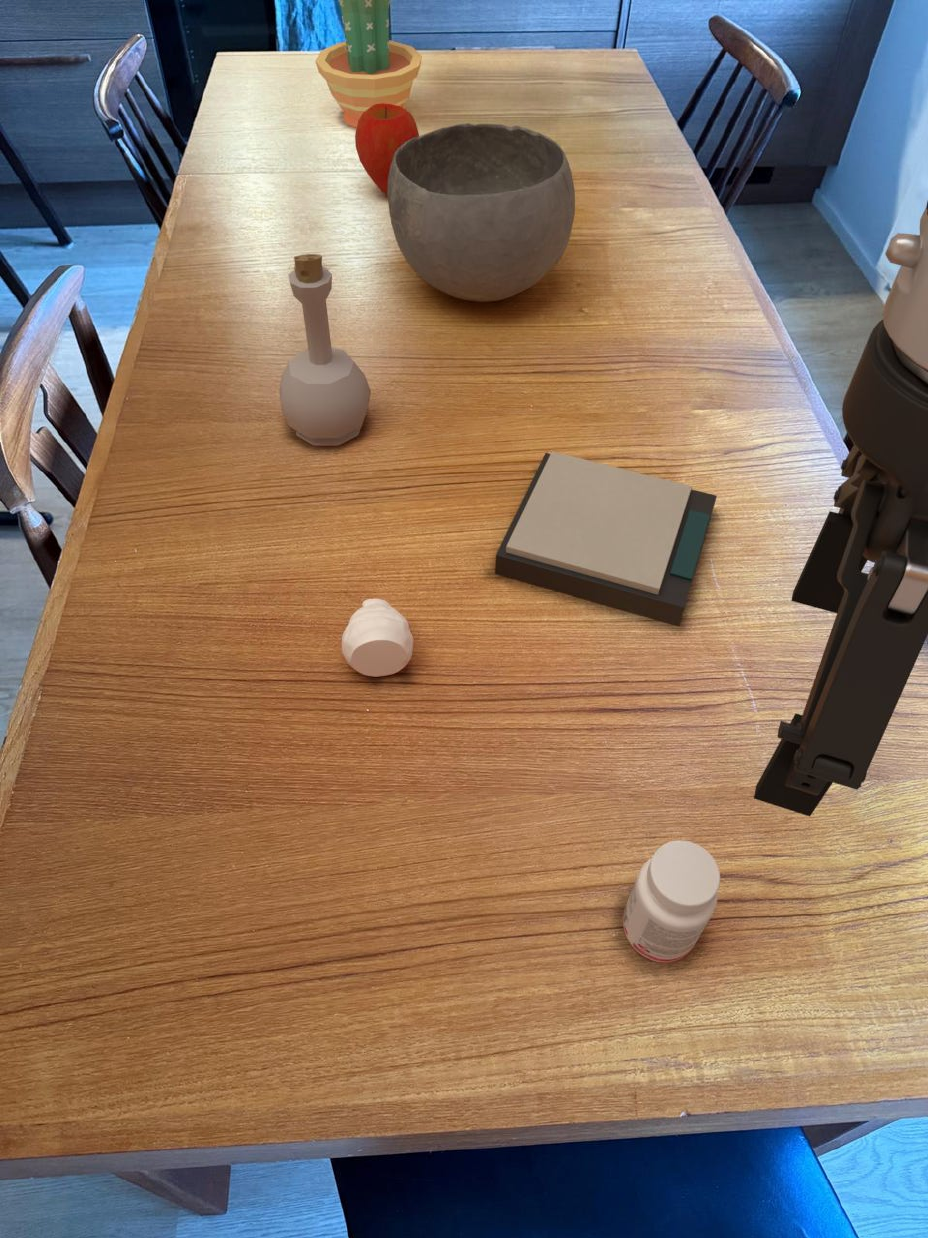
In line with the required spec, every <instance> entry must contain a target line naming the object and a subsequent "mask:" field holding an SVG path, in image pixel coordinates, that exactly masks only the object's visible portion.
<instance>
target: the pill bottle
mask: <svg viewBox="0 0 928 1238" xmlns="http://www.w3.org/2000/svg"><path fill="white" fill-rule="evenodd" d="M718 865H719V864H718V863H717V861H716V859H715V858H714V857H713V855H712V854H711V853H710V852H709V851H708V850H707V849H705V848H704V847H703V846H701V845H699V844H698V843H695V842H693V841H689V840H685V839H683V840H682V839H678V840H677V839H676V840H671V841H668V842H666V843H663V844H662V845H661V846H659V847H658V848H657V849H656V851H655V852H654V853H653V855H652V856H651V857H650V858H649V859H647V860H646V861H645V862H644V864H643V865H642V867H641V868H640V869H639V872H638V873H637V876H636V879H635V882H634V884H633V886H632V889H631V892H630V894H629V896H628V900H627V902H626V904H625V907H624V911H623V914H622V915H623V916H622V926H623V931H624V934H625V937H626V939H627V941H628V942H629V944H630V946H631V947H632V948H633V949H634V950H635V951H636V952H637V953H638V954H640V955H641V956H642V957H644V958H646V959H648V960H650V961H653V962H657V963H673V962H676V961H679V960H681V959H683V958H684V957H686V956H688V954H689V953H691V951H692V950H693V949H694V947H695V945H696V943H697V942H698V940H699V939H700V937H701V934H703V931H704V930H705V928H706V927H707V925H708V923H709V922H710V919H711V918H712V916H713V915H714V912H715V910H716V907H717V904H718V896H719V894H718V893H719V892H718V891H719V889H720V886H721V873H720V867H719V866H718Z"/></svg>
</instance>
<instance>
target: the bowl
mask: <svg viewBox="0 0 928 1238" xmlns="http://www.w3.org/2000/svg"><path fill="white" fill-rule="evenodd" d="M573 178H574V177H573V172H572V170H571V166H570V162H569V160H568V158H567V156H566V153H565V151H564V150H563V148H562V147H561V146H560V144H558V143H557V142H556V141H555V140H553V139H552V138H551V137H548V136H546V135H545V134H543V133H541V132H539V131H535V130H533V129H529V128H527V127H523V126H520V125H514V126H508V125H505V124H498V123H497V124H495V123H478V124H473V123H467V122H466V123H460V124H459V123H458V124H454V125H450V126H445V127H440V128H438V129H436V130H435V129H434V130H432V131H430V132H427V133H424V134H422V135H419V137H414V138H412V139H410V140H408V141H406V142H405V143H404V145H401V147H400V148H398V149H397V151H396V152H395V154H394V157H393V160H392V163H391V167H390V171H389V177H388V193H387V194H386V196H387V204H388V213H389V217H390V223H391V227H392V231H393V234H394V237H395V240H396V243H397V245H398V248H399V250H400V252H401V254H402V256H403V258H404V259H405V260H406V261H405V262H407V264H408V265H409V266H410V268H411V269H412V270H413V271H414V272H415V273H416V274H417V275H418V276H419V277H420V279H422V280H423V281H425V282H426V283H427V284H428V285H430V286H431V287H433V288H434V289H435V290H437V291H439V292H441V293H443V294H446V295H448V296H451V297H453V298H455V299H456V298H457V299H459V300H465V301H470V302H477V303H488V302H497V301H500V300H506V299H509V298H510V297H513V296H515V295H517V294H520V293H522V292H524V291H526V290H528V289H530V288H531V287H532V286H534V285H535V284H538V283H539V282H540V281H541V280H542V279H543V278H544V277H545V276H546V275H547V274H548V273H550V271H551V270H552V268H554V266H556V265H557V264H558V263H559V261H561V259H562V258H563V255H564V254H565V252H566V250H567V248H568V244H569V242H570V238H571V235H572V230H573V225H574V221H575V214H576V189H575V185H574V184H575V183H574V179H573Z"/></svg>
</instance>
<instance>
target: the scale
mask: <svg viewBox="0 0 928 1238" xmlns="http://www.w3.org/2000/svg"><path fill="white" fill-rule="evenodd" d="M717 496H718V495H716V494H712V493H709V492H705V491H700V490H696V489H693V486H692V485H689V484H686V483H685V484H684V483H680V482H678V481H677V482H676V481H673V480H670V479H665V478H660V477H657V476H652V475H650V474H645V473H642V472H637V471H634V470H633V471H632V470H629V469H626V468H620V467H617V466H613V465H610V464H605V463H602V462H598V461H592V460H589V459H586V458H582V457H577V456H574V455H569V454H565V453H561V452H557V451H551V452H550V453H548V452H545V453H544V455H543V457H542V459H541V461H540V463H539V466H538V467H537V470H536V472H535V473H534V476H533V478H532V480H531V481H530V484H529V486H528V488H527V490H526V492H525V494H524V496H523V498H522V501H520V502H521V503H520V504H519V507H518V509H517V510H516V513H515V515H514V517H513V519H512V521H511V523H510V525H509V526H508V529H507V531H506V533H505V535H504V537H503V540H502V542H501V543H500V546H499V548H498V550H497V552H496V553H495V563H494V564H495V566H494V574H495V575H498V576H502V577H505V578H510V579H512V580H516V581H518V582H519V581H520V582H522V583H526V584H530V585H533V586H537V587H540V588H542V589H543V588H544V589H547V590H551V591H554V592H557V593H561V594H565V595H569V596H572V597H576V598H578V599H582V600H586V601H589V602H593V603H596V604H600V605H604V606H607V607H609V608H614V609H618V610H621V611H624V612H628V613H631V614H635V615H638V616H641V617H645V618H649V619H652V620H656V621H658V622H659V621H660V622H663V623H667V624H670V625H673V626H677V627H679V626H680V624H681V621H682V618H683V615H684V612H685V609H686V605H687V602H688V598H689V596H690V592H691V587H692V584H693V581H694V578H695V574H696V571H697V566H698V564H699V560H700V556H701V553H702V549H703V546H704V542H705V539H706V536H707V532H708V528H709V525H710V521H711V518H712V515H713V511H714V508H715V504H716V501H717Z"/></svg>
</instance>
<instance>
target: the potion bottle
mask: <svg viewBox="0 0 928 1238" xmlns="http://www.w3.org/2000/svg"><path fill="white" fill-rule="evenodd" d="M293 259H294V260H293V261H294V267H293V270H292V271H291V272H289V273H288V281H289V285H290V289H291V291H292V294H293V297H294V298H295V299H296V300H297V302H299V303H300V304H301V307H302V314H303V315H302V316H303V320H304V321H303V322H304V328H305V329H304V330H305V335H306V343H307V349H302V350H301V351H300V352H298V353H297V354H296V355H295V356H294V357H293V358H291V359H290V360H289V361H288V363H287V365H286V366H285V368H284V370H283V372H282V373H281V375H280V382H279V383H280V384H279V401H280V408H281V409H280V410H281V413H282V415H283V417H284V419H285V421H286V423H287V425H288V427H289V428H291V429H293V430H294V431H295V435H296V436H297V437H298V438H299V439H301V440H304V441H305V442H306V443H308V444H310V445H312V446H315V447H320V446H321V447H325V446H326V447H329V446H332V447H337V446H341V445H343V444H344V443H347V442H348V441H351V440H353V439H354V438H356V437H358V436H359V434H360V432H361V428H362V426H363V424H364V421H365V418H366V416H367V412H368V409H369V404H370V399H371V394H372V390H371V387H370V385H369V382H368V380H367V377H366V374H365V373H364V372H363V371H362V369H361V368H360V367H359V365H357V363H356V362H355V361H354V360H353V359H352V358H351V356H350V355H349V354H348V352H346V351H345V350H344V349H340V348H335V347H332V340H331V332H330V325H329V315H328V307H327V299H328V297H329V296H330V293H331V291H332V288H333V287H332V285H333V273H332V272H331V271H329V269H328V268H327V267H325V266H323V256H322V255H321V254H318V253H317V254H316V253H306V254H299V255H296V256H293Z"/></svg>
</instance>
